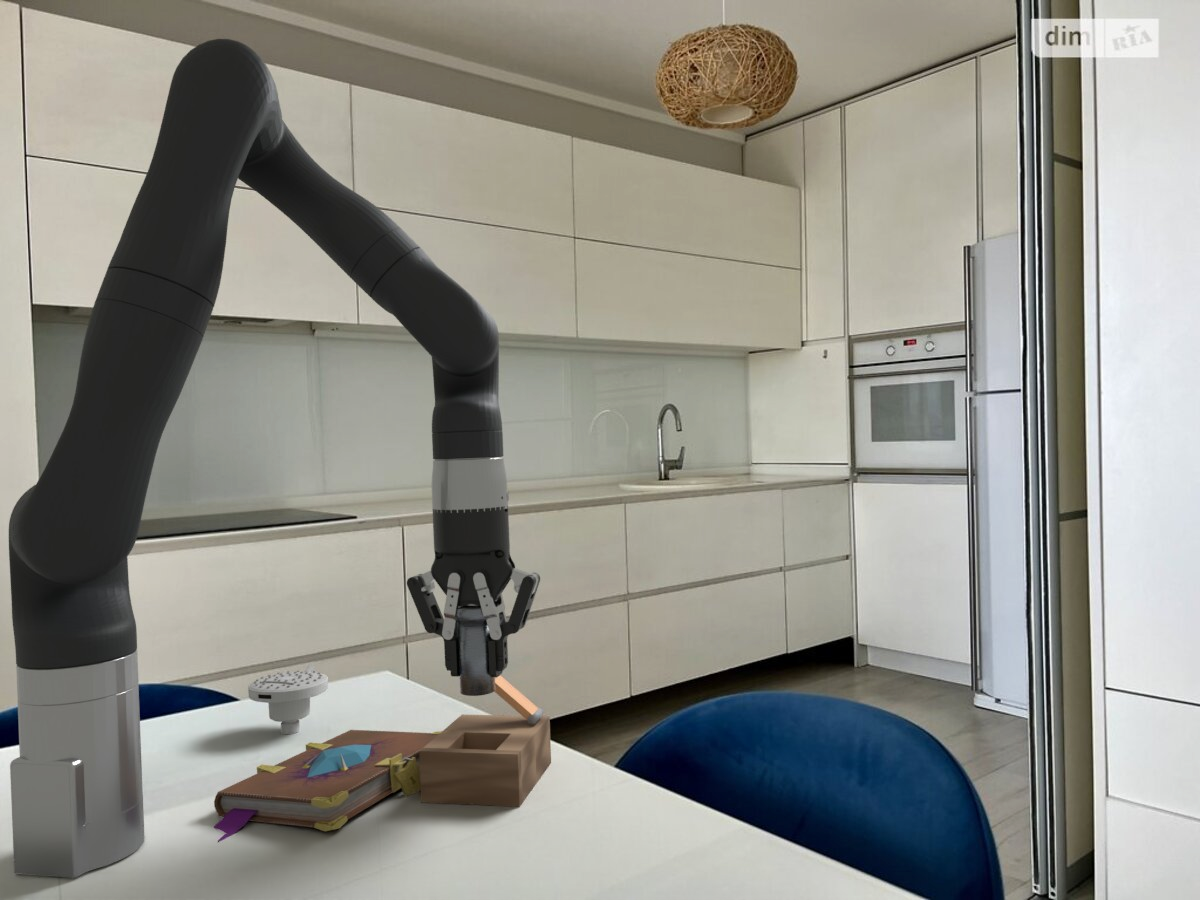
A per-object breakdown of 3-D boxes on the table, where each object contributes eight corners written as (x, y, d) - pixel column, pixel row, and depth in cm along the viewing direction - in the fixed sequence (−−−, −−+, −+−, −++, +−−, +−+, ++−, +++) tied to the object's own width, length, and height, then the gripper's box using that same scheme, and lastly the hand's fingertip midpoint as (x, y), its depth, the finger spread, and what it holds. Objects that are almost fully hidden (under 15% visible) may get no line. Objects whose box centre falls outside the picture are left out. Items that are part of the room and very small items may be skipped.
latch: (532, 727, 95) (538, 719, 95) (470, 673, 96) (475, 665, 96) (539, 718, 97) (545, 711, 97) (478, 666, 99) (484, 659, 99)
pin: (491, 697, 88) (487, 609, 88) (450, 696, 89) (446, 609, 89) (504, 685, 92) (500, 601, 92) (465, 684, 93) (461, 601, 93)
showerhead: (345, 664, 116) (297, 684, 106) (347, 720, 116) (299, 746, 106) (282, 661, 119) (230, 681, 109) (284, 716, 119) (233, 741, 109)
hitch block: (519, 806, 86) (517, 754, 86) (421, 802, 88) (419, 751, 88) (551, 762, 98) (549, 716, 98) (463, 759, 100) (461, 714, 100)
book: (174, 849, 83) (170, 794, 83) (349, 759, 105) (346, 716, 105) (315, 866, 76) (310, 806, 76) (469, 766, 99) (465, 720, 99)
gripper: (388, 508, 88) (395, 684, 88) (528, 504, 85) (535, 686, 86) (418, 502, 95) (425, 665, 96) (547, 499, 93) (554, 666, 93)
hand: (477, 674), depth 91 cm, fingers closed on pin, 3 cm apart
